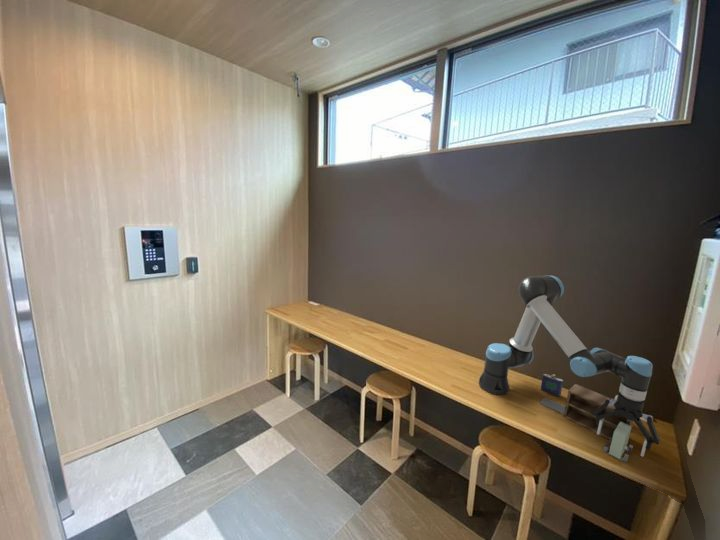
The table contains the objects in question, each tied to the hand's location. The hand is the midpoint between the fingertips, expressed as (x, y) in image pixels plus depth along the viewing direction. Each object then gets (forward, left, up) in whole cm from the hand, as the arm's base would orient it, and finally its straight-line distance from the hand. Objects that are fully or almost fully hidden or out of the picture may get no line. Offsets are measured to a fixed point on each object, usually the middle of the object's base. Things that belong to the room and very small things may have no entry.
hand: (619, 443), depth 118 cm
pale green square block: (0, 0, -3) cm, 3 cm away
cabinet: (-10, +10, -4) cm, 15 cm away
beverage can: (-5, +24, -4) cm, 24 cm away
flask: (-32, +22, -4) cm, 39 cm away
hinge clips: (0, 0, -4) cm, 4 cm away
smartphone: (-25, +11, -4) cm, 27 cm away
